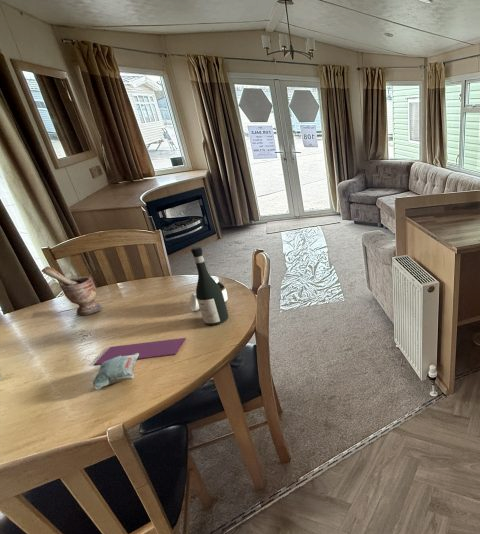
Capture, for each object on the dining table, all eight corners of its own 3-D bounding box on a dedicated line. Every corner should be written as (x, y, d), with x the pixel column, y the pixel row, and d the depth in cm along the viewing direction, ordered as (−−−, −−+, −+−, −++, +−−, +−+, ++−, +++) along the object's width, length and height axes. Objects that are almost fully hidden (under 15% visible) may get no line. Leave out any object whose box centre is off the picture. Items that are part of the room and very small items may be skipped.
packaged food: (141, 359, 108) (136, 347, 106) (135, 383, 99) (129, 370, 97) (105, 369, 104) (99, 356, 102) (96, 394, 95) (88, 381, 93)
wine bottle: (217, 328, 125) (195, 253, 112) (199, 324, 127) (175, 250, 114) (233, 316, 132) (214, 245, 120) (216, 313, 134) (196, 242, 121)
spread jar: (232, 302, 142) (226, 277, 137) (209, 316, 132) (202, 290, 127) (209, 297, 145) (202, 273, 140) (185, 311, 135) (176, 285, 130)
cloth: (93, 365, 105) (93, 364, 105) (110, 347, 113) (110, 346, 113) (175, 354, 111) (175, 353, 111) (186, 338, 119) (185, 337, 119)
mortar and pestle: (62, 322, 126) (37, 274, 117) (64, 312, 131) (40, 265, 123) (104, 311, 133) (83, 265, 124) (104, 303, 138) (84, 258, 130)
